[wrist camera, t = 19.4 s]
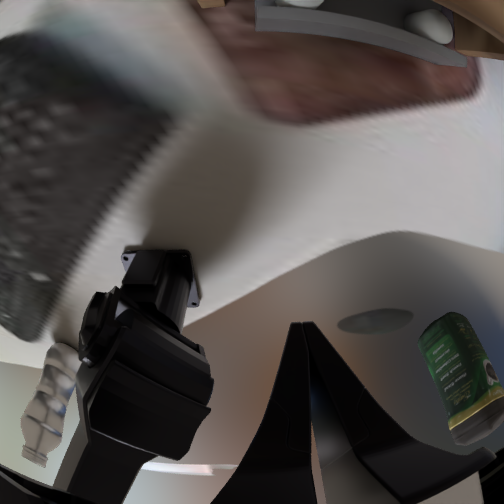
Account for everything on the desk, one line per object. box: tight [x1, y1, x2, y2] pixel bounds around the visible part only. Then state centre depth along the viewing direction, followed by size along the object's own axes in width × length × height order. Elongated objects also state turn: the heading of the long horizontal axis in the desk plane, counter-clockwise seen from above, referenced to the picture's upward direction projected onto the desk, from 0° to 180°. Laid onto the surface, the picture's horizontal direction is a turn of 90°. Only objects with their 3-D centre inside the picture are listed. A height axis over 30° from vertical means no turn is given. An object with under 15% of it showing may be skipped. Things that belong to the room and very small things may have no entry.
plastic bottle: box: [21, 343, 82, 468], centre depth 25 cm, size 6×7×20 cm
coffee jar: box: [418, 312, 504, 446], centre depth 24 cm, size 10×8×19 cm
